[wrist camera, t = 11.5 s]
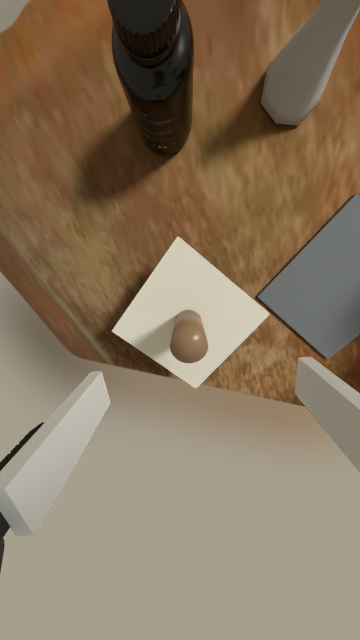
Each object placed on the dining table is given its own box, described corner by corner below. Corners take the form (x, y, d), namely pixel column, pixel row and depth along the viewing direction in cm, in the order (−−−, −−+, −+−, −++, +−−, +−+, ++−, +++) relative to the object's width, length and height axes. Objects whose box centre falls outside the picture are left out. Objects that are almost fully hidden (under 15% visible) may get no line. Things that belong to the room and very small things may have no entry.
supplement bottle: (139, 85, 21) (84, -133, 9) (195, 93, 21) (207, -114, 9) (136, 155, 23) (88, 46, 12) (187, 162, 23) (188, 61, 12)
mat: (425, 279, 26) (428, 279, 26) (326, 358, 31) (328, 359, 31) (353, 195, 23) (356, 193, 23) (256, 296, 28) (257, 296, 28)
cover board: (267, 312, 23) (306, 335, 15) (195, 385, 27) (199, 431, 19) (178, 237, 20) (173, 220, 13) (113, 329, 24) (82, 357, 17)
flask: (298, 139, 22) (384, 43, 12) (249, 110, 21) (300, -16, 12) (336, 66, 20) (475, -118, 10) (283, 31, 19) (379, -201, 10)
